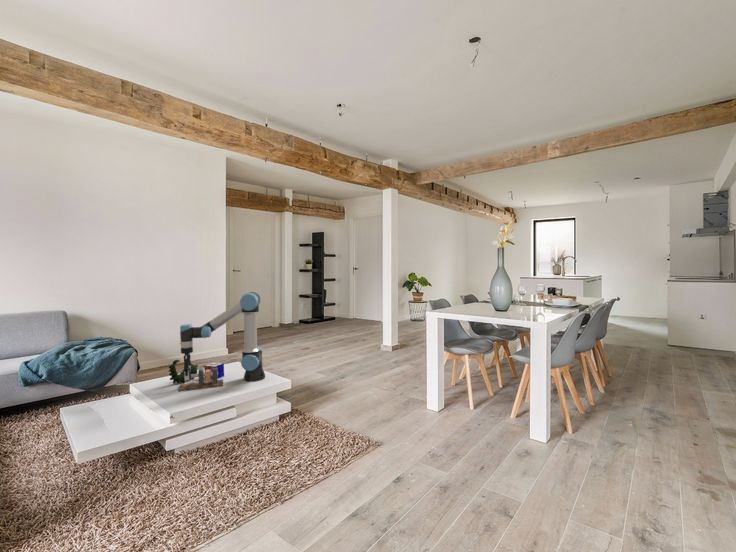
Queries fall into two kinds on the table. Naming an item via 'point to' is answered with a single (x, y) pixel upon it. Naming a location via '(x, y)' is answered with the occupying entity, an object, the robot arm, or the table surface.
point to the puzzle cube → (219, 368)
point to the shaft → (197, 374)
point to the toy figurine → (180, 377)
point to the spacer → (208, 375)
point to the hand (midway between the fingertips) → (187, 377)
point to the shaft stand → (202, 382)
